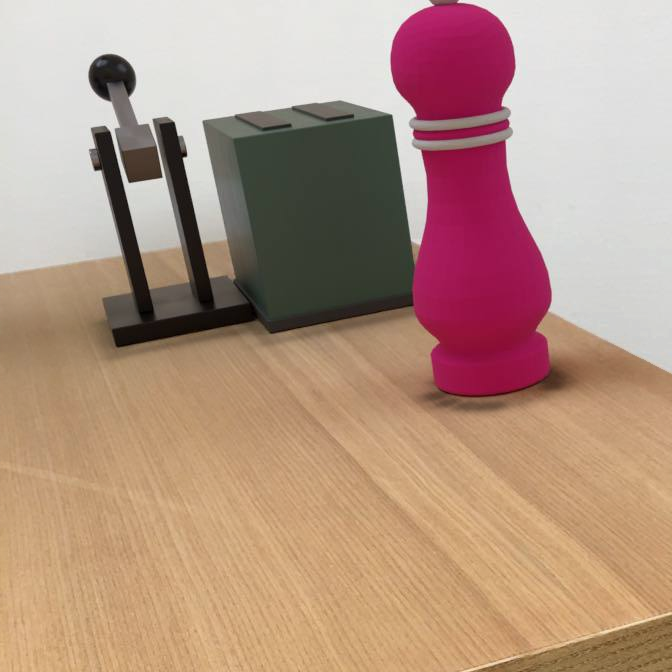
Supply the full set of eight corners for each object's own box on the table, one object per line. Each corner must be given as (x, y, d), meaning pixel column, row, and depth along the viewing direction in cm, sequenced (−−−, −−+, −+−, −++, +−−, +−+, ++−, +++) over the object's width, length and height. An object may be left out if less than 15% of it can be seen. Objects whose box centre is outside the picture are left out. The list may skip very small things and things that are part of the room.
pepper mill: (398, 391, 65) (331, -21, 56) (479, 350, 70) (430, -33, 62) (507, 406, 61) (453, -34, 52) (585, 362, 66) (548, -46, 58)
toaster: (234, 289, 91) (197, 117, 85) (370, 264, 94) (342, 96, 88) (269, 333, 78) (229, 135, 73) (424, 302, 81) (396, 110, 76)
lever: (90, 91, 88) (80, 48, 85) (135, 85, 89) (127, 42, 86) (122, 190, 80) (112, 146, 78) (171, 182, 81) (163, 138, 79)
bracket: (105, 314, 88) (57, 128, 82) (231, 290, 90) (192, 109, 85) (116, 347, 79) (62, 142, 74) (254, 320, 82) (212, 120, 76)
